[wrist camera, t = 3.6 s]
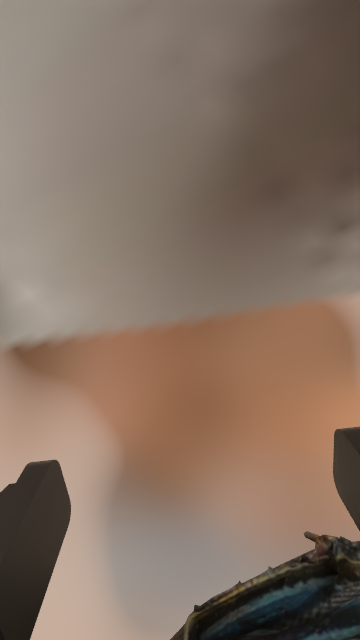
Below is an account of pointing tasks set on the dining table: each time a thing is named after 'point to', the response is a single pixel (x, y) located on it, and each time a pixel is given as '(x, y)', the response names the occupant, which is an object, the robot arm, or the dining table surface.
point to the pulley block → (288, 600)
